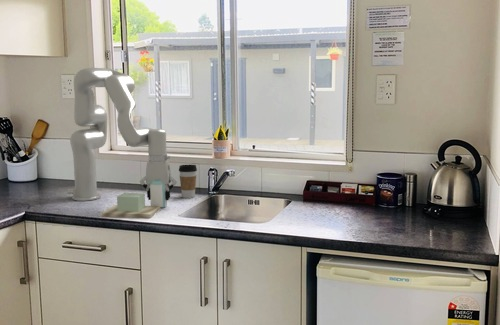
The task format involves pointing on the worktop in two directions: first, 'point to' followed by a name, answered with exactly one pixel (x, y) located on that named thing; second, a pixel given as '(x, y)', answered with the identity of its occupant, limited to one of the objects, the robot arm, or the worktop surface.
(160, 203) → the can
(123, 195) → the sage brick
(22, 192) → the worktop surface
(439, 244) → the worktop surface
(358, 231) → the worktop surface
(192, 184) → the coffee cup
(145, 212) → the birch board
